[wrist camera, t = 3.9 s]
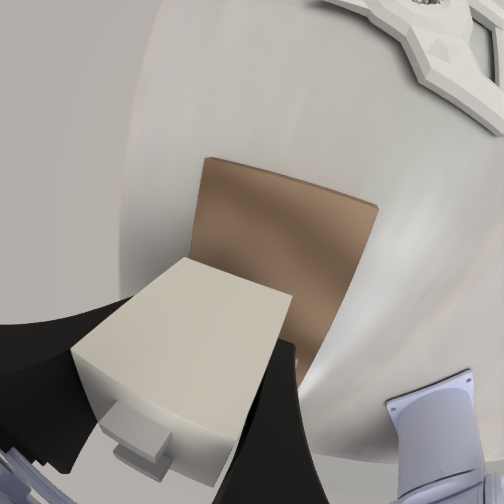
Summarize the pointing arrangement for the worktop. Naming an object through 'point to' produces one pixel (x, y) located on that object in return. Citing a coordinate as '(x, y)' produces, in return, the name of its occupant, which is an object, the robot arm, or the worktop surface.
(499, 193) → the worktop surface
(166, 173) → the worktop surface
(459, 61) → the gun
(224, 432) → the plug
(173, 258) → the worktop surface
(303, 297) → the board
